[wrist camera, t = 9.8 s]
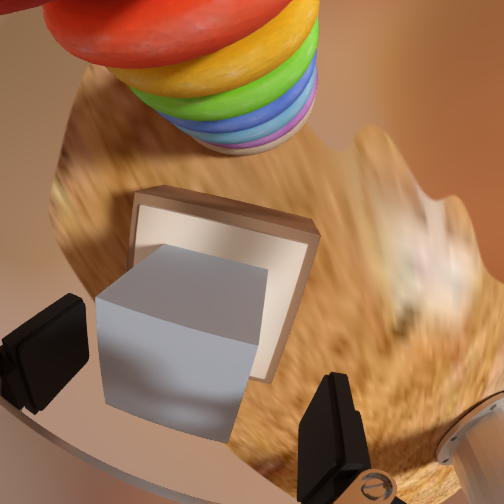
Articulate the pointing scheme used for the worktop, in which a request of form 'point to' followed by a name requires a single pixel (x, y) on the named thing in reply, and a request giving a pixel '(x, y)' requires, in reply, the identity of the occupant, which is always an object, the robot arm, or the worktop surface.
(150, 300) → the grey block
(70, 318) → the robot arm
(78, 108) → the worktop surface
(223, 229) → the walnut tray
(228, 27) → the stacking toy
